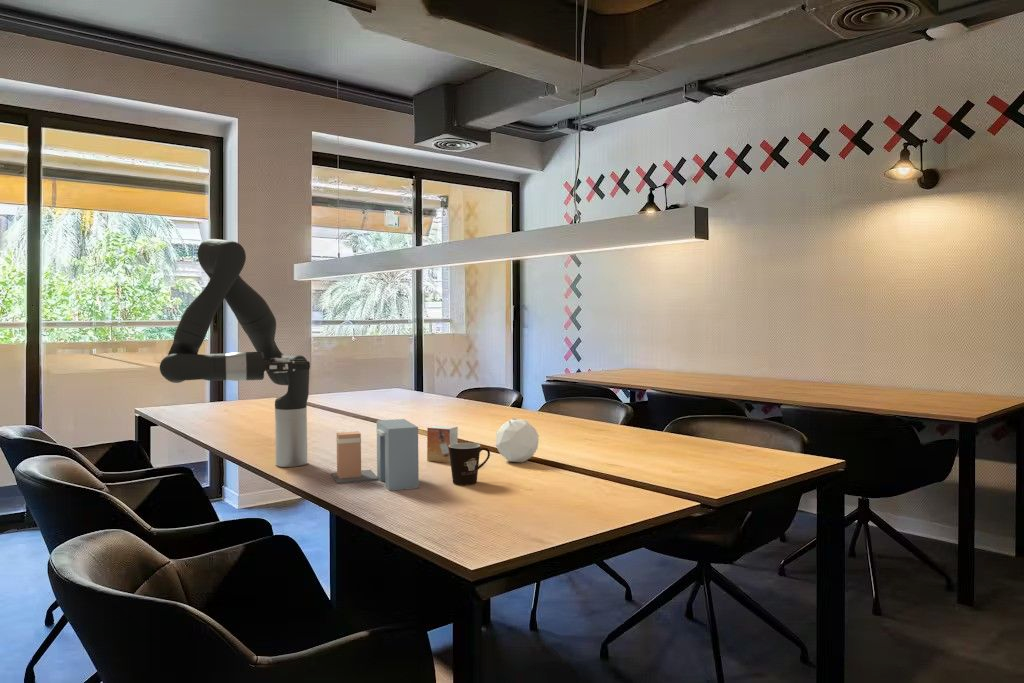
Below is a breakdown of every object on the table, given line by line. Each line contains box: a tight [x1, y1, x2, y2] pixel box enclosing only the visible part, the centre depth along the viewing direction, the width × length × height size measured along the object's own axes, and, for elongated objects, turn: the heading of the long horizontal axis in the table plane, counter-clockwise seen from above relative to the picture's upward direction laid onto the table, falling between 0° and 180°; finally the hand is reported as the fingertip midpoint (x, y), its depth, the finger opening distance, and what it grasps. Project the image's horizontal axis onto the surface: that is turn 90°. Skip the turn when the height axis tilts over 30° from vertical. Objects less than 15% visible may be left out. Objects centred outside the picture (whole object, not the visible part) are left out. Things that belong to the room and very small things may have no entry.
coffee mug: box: [449, 442, 491, 486], centre depth 195 cm, size 12×9×10 cm
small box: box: [426, 425, 459, 464], centre depth 225 cm, size 8×6×10 cm
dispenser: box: [376, 418, 420, 492], centre depth 195 cm, size 16×9×16 cm, turn 21°
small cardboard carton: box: [335, 431, 362, 478], centre depth 201 cm, size 4×6×12 cm
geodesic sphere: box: [495, 417, 540, 463], centre depth 222 cm, size 14×14×14 cm
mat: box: [331, 469, 380, 485], centre depth 202 cm, size 12×11×1 cm
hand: (308, 364), depth 197 cm, fingers open, 8 cm apart
